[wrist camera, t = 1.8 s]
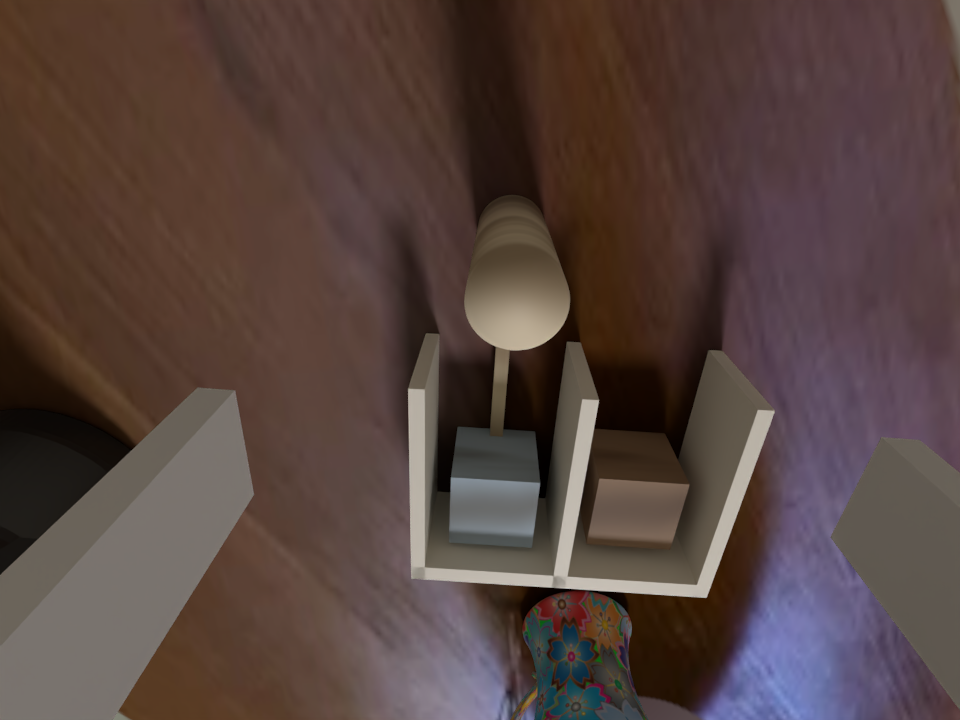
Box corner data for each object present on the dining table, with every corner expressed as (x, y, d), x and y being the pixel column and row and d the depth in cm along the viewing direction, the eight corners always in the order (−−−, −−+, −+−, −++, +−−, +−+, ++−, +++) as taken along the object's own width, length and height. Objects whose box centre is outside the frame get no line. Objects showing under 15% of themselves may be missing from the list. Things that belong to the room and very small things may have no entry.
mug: (592, 560, 38) (622, 713, 29) (655, 627, 41) (701, 784, 32) (467, 622, 42) (457, 775, 32) (534, 679, 45) (543, 834, 36)
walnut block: (648, 492, 35) (670, 549, 31) (575, 488, 35) (586, 544, 31) (664, 432, 33) (689, 484, 28) (586, 427, 33) (599, 478, 29)
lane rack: (673, 517, 36) (706, 597, 30) (425, 501, 36) (411, 578, 30) (722, 350, 30) (774, 410, 24) (425, 333, 30) (407, 388, 24)
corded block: (528, 491, 35) (538, 641, 26) (455, 486, 35) (437, 635, 26) (562, 197, 26) (598, 255, 17) (465, 192, 27) (445, 246, 17)
